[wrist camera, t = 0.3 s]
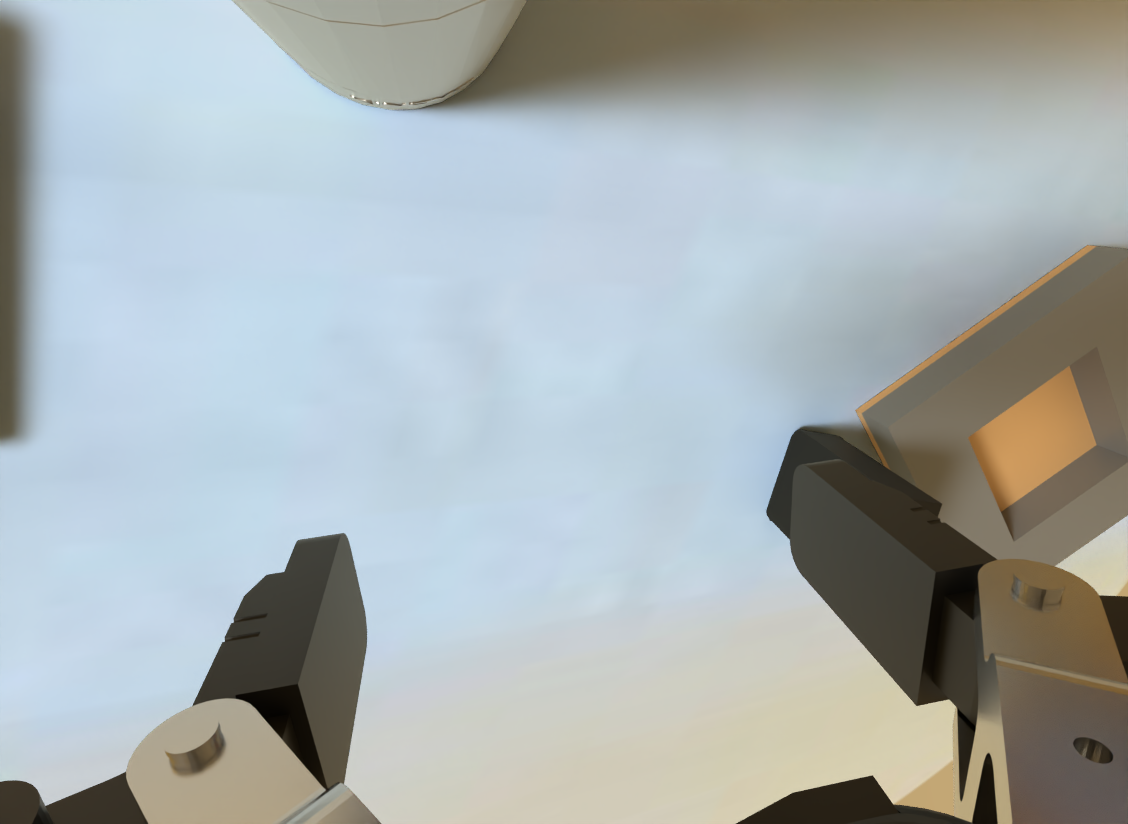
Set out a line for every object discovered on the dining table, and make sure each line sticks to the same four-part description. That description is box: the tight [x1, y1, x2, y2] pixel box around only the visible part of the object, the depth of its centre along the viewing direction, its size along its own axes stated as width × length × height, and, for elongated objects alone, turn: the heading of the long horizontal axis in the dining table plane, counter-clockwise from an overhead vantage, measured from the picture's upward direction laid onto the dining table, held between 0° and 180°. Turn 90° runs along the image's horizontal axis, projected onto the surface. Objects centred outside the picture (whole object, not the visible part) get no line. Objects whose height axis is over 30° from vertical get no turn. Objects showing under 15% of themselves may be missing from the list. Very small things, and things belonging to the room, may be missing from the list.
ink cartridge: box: [766, 430, 942, 539], centre depth 30 cm, size 5×2×8 cm, turn 167°
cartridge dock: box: [855, 245, 1128, 566], centre depth 35 cm, size 14×14×2 cm
